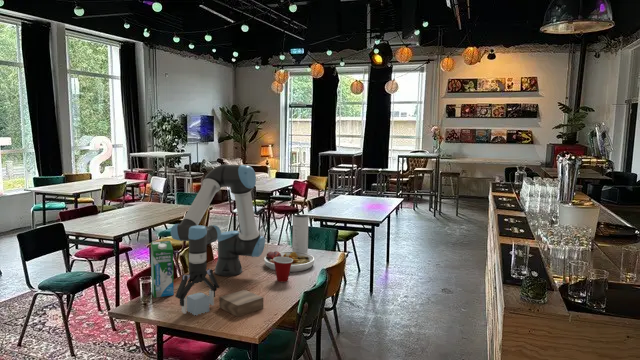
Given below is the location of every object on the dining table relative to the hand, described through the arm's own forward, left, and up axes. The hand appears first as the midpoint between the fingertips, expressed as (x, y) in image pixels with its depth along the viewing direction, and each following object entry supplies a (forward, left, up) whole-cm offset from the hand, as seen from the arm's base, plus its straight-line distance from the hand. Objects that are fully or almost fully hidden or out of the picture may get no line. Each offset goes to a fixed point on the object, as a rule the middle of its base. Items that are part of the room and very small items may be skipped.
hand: (198, 308), depth 195 cm
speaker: (-39, +99, -1) cm, 106 cm away
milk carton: (-31, -1, -1) cm, 31 cm away
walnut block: (+10, +16, -1) cm, 19 cm away
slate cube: (0, 0, -1) cm, 1 cm away
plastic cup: (-6, +55, -1) cm, 55 cm away
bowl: (-24, +76, -2) cm, 80 cm away
